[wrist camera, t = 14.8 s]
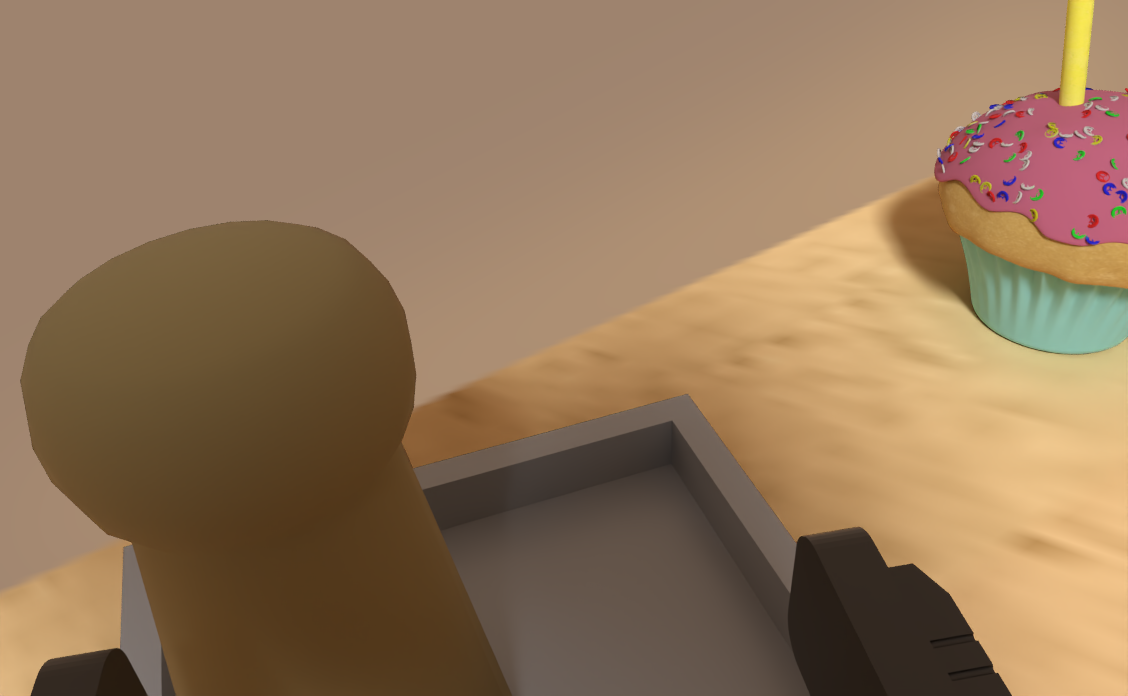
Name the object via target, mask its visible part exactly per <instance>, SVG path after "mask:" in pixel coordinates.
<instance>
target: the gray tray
mask: <svg viewBox="0 0 1128 696" xmlns="http://www.w3.org/2000/svg"><path fill="white" fill-rule="evenodd" d="M413 470H414V472H415V474H416V477H417V479H418V481H419V483H420V486H421V488H422V490H423V493H424V495H425V497H426V499H427V502H428V504H429V506H430V509H431V511H432V513H433V515H434V518H435V520H436V522H437V525H438V527H439V529H440V531H441V534H442V536H443V538H444V541H445V543H446V545H447V548H448V550H449V552H450V554H451V557H452V559H453V561H454V564H455V566H456V568H457V570H458V573H459V575H460V577H461V580H462V582H463V584H464V586H465V589H466V591H467V593H468V596H469V598H470V600H471V602H472V605H473V607H474V609H475V612H476V614H477V616H478V618H479V621H480V623H481V625H482V628H483V630H484V632H485V634H486V637H487V639H488V641H489V644H490V646H491V648H492V650H493V653H494V655H495V657H496V660H497V662H498V664H499V666H500V669H501V671H502V673H503V676H504V678H505V680H506V683H507V685H508V687H509V689H510V692H511V694H512V696H810V694H809V691H808V689H807V687H806V684H805V682H804V679H803V677H802V675H801V672H800V670H799V668H798V665H797V662H796V660H795V657H794V653H793V650H792V646H791V641H790V636H789V630H788V607H789V599H790V591H791V584H792V576H793V568H794V560H795V552H796V545H797V544H796V542H795V541H794V540H793V538H792V537H791V535H790V534H789V533H788V531H787V530H786V529H785V527H784V526H783V524H782V523H781V522H780V520H779V519H778V517H777V516H776V515H775V513H774V512H773V511H772V509H771V508H770V506H769V505H768V504H767V502H766V501H765V500H764V498H763V497H762V495H761V494H760V493H759V491H758V490H757V489H756V487H755V486H754V484H753V483H752V482H751V480H750V479H749V478H748V476H747V475H746V473H745V472H744V471H743V469H742V468H741V467H740V465H739V464H738V462H737V461H736V460H735V458H734V457H733V455H732V454H731V453H730V451H729V450H728V449H727V447H726V446H725V444H724V443H723V442H722V440H721V439H720V438H719V436H718V435H717V433H716V432H715V431H714V429H713V428H712V427H711V425H710V424H709V422H708V421H707V420H706V418H705V417H704V416H703V414H702V413H701V411H700V410H699V409H698V407H697V406H696V405H695V403H694V402H693V400H692V399H691V398H690V396H689V395H688V394H685V395H682V396H678V397H674V398H671V399H667V400H663V401H660V402H656V403H652V404H649V405H645V406H641V407H638V408H634V409H630V410H626V411H623V412H619V413H615V414H612V415H608V416H604V417H601V418H597V419H593V420H590V421H586V422H582V423H579V424H575V425H571V426H568V427H564V428H560V429H557V430H553V431H549V432H546V433H542V434H538V435H535V436H531V437H527V438H523V439H520V440H516V441H512V442H509V443H505V444H501V445H498V446H494V447H490V448H487V449H483V450H479V451H476V452H472V453H468V454H465V455H461V456H457V457H454V458H450V459H446V460H443V461H439V462H435V463H431V464H428V465H424V466H420V467H417V468H413ZM120 649H121V650H122V651H123V652H124V653H125V654H126V656H127V657H128V659H129V661H130V663H131V665H132V667H133V668H134V670H135V672H136V674H137V676H138V678H139V680H140V682H141V683H142V685H143V687H144V689H145V691H146V693H147V695H148V696H176V694H175V691H174V687H173V684H172V680H171V677H170V673H169V670H168V666H167V663H166V659H165V656H164V653H163V649H162V646H161V642H160V639H159V635H158V632H157V628H156V625H155V621H154V618H153V614H152V611H151V607H150V604H149V601H148V597H147V594H146V590H145V587H144V583H143V580H142V576H141V573H140V569H139V566H138V562H137V559H136V555H135V552H134V549H133V545H130V546H126V547H124V552H123V582H122V611H121V641H120Z"/></svg>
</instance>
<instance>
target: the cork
mask: <svg viewBox="0 0 1128 696" xmlns="http://www.w3.org/2000/svg"><path fill="white" fill-rule="evenodd" d="M20 381H21V387H22V392H23V398H24V403H25V409H26V414H27V420H28V425H29V431H30V436H31V441H32V447H33V450H34V452H35V453H36V455H37V457H38V459H39V460H40V462H41V464H42V466H43V468H44V469H45V471H46V473H47V475H48V477H49V478H50V480H51V482H52V483H53V484H54V485H55V486H56V487H57V488H58V489H59V490H60V491H61V492H62V493H64V494H65V495H66V496H67V497H68V498H69V499H70V500H71V501H72V502H73V503H74V504H75V505H76V506H77V507H78V508H79V509H81V511H83V512H84V513H85V514H86V515H87V516H88V517H89V518H90V519H91V520H92V521H93V522H94V523H95V524H97V525H98V526H99V527H100V528H101V529H102V530H103V531H104V532H105V533H106V534H108V535H111V536H114V537H117V538H120V539H123V540H127V541H130V542H132V545H133V549H134V552H135V555H136V559H137V562H138V566H139V569H140V573H141V576H142V580H143V583H144V587H145V590H146V594H147V597H148V601H149V604H150V607H151V611H152V614H153V618H154V621H155V625H156V628H157V632H158V635H159V639H160V642H161V646H162V649H163V653H164V656H165V659H166V663H167V666H168V670H169V673H170V677H171V680H172V684H173V687H174V691H175V694H176V696H512V694H511V692H510V689H509V687H508V685H507V683H506V680H505V678H504V676H503V673H502V671H501V669H500V666H499V664H498V662H497V660H496V657H495V655H494V653H493V650H492V648H491V646H490V644H489V641H488V639H487V637H486V634H485V632H484V630H483V628H482V625H481V623H480V621H479V618H478V616H477V614H476V612H475V609H474V607H473V605H472V602H471V600H470V598H469V596H468V593H467V591H466V589H465V586H464V584H463V582H462V580H461V577H460V575H459V573H458V570H457V568H456V566H455V564H454V561H453V559H452V557H451V554H450V552H449V550H448V548H447V545H446V543H445V541H444V538H443V536H442V534H441V531H440V529H439V527H438V525H437V522H436V520H435V518H434V515H433V513H432V511H431V509H430V506H429V504H428V502H427V499H426V497H425V495H424V493H423V490H422V488H421V486H420V483H419V481H418V479H417V477H416V474H415V472H414V470H413V467H412V465H411V463H410V461H409V458H408V456H407V454H406V451H405V449H404V447H403V445H402V442H401V441H402V438H403V436H404V433H405V430H406V427H407V425H408V422H409V419H410V416H411V414H412V411H413V408H414V394H415V382H416V371H415V363H414V358H413V351H412V344H411V340H410V335H409V330H408V325H407V320H406V315H405V311H404V309H403V307H402V305H401V303H400V301H399V300H398V298H397V296H396V294H395V292H394V290H393V289H392V287H391V285H390V283H389V281H388V280H387V279H386V278H385V277H384V276H383V275H382V274H381V273H380V271H379V270H378V269H377V268H376V267H375V266H374V265H373V264H372V263H371V262H370V261H369V260H368V259H367V258H366V257H365V256H364V255H363V254H362V253H360V252H359V251H358V250H357V249H356V248H355V247H354V246H353V245H351V244H350V243H349V242H348V241H347V240H346V239H344V238H341V237H338V236H336V235H334V234H331V233H329V232H327V231H324V230H322V229H319V228H316V227H310V226H304V225H298V224H291V223H283V222H274V221H268V220H265V221H243V222H242V221H241V222H227V223H221V224H216V225H211V226H205V227H199V228H193V229H189V230H185V231H182V232H179V233H176V234H173V235H169V236H166V237H163V238H160V239H156V240H153V241H150V242H147V243H145V244H143V245H141V246H139V247H136V248H134V249H132V250H130V251H128V252H125V253H123V254H121V255H119V256H117V257H114V258H112V259H111V260H109V261H107V262H106V263H104V264H103V265H101V266H100V267H98V268H97V269H95V270H94V271H92V272H91V273H89V274H87V275H86V276H84V277H83V278H81V279H80V280H79V281H78V282H77V283H76V284H75V285H73V286H72V287H71V288H70V289H69V290H68V291H67V292H66V293H65V294H64V295H63V296H62V297H61V298H60V299H59V300H58V301H57V302H56V303H55V304H54V305H53V306H52V307H51V308H50V309H49V310H48V311H47V312H46V313H45V314H44V315H43V316H42V317H41V318H40V320H39V323H38V325H37V327H36V329H35V331H34V334H33V336H32V338H31V340H30V343H29V345H28V349H27V354H26V358H25V363H24V367H23V372H22V376H21V380H20Z"/></svg>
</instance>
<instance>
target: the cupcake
mask: <svg viewBox="0 0 1128 696" xmlns="http://www.w3.org/2000/svg"><path fill="white" fill-rule="evenodd" d="M1093 10H1094V0H1068V6H1067V17H1066V27H1065V28H1066V29H1065V39H1064V50H1063V61H1062V72H1061V84H1060V88H1058V89H1056V90H1054V91H1044V92H1038V93H1034V94H1031V95H1028V96H1025V97H1019V98H1017V99H1015V100H1014V101H1013V100H1008V101H1006V103H1004V104H1002V105H997V104H995V105H991V106H990V107H989V108H990V109H991V110H989V111H988V112H986V113H985V114H983V115H980V113H978V112H974V113H973V114H972V120H973V122H972V123H970V124H969V125H967V126H966V127H962V126H960V127H957V128H956V129H955V131H954V132H953V133H952V134H951V136H950V138H949V139H948V142H947V146H946V147H945V148H944V149H943V151H942V152H941V150H940V148H938V150H937V156H938V158H937V161H936V164H935V171H934V173H935V177H936V179H937V180H938V181H939V186H938V191H939V195H940V197H941V203H942V207H943V210H944V213H945V216H946V219H947V222H948V224H949V226H950V228H951V229H952V230H953V231H954V232H955V233H957V234H958V235H960V238H961V242H962V246H963V250H964V254H965V258H966V263H967V269H968V275H969V283H970V291H971V301H972V305H973V308H974V310H975V312H976V314H977V315H978V317H979V318H980V319H981V320H982V321H983V322H984V323H985V324H986V325H987V326H988V327H989V328H990V329H992V330H993V331H995V332H996V333H998V334H999V335H1001V336H1003V337H1005V338H1007V339H1009V340H1011V341H1013V342H1016V343H1018V344H1021V345H1024V346H1027V347H1030V348H1033V349H1037V350H1042V351H1047V352H1053V353H1061V354H1086V353H1094V352H1099V351H1103V350H1106V349H1109V348H1112V347H1114V346H1116V345H1118V344H1119V343H1121V342H1122V341H1124V340H1125V339H1126V338H1127V337H1128V89H1127V88H1126V89H1125V90H1126V91H1127V93H1121V92H1113V91H1103V90H1093V89H1091V88H1086V78H1087V68H1088V58H1089V49H1090V38H1091V29H1092V19H1093ZM976 115H978V117H977V116H976ZM974 116H975V117H976V118H977V119H976V118H974ZM958 129H960V130H959V131H958ZM953 136H954V138H952V137H953Z"/></svg>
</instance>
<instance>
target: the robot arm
mask: <svg viewBox="0 0 1128 696" xmlns="http://www.w3.org/2000/svg"><path fill="white" fill-rule="evenodd" d="M788 630H789V636H790V641H791V646H792V650H793V653H794V657H795V660H796V662H797V665H798V668H799V670H800V672H801V675H802V677H803V679H804V682H805V684H806V687H807V689H808V691H809V694H810V696H1012V695H1011V693H1010V692H1009V690H1008V688H1007V687H1006V685H1005V684H1004V682H1003V680H1002V679H1001V677H1000V675H999V674H998V673H995V672H994V670H993V664H992V662H991V661H990V659H989V658H988V656H987V654H986V653H985V651H984V649H983V648H982V646H981V645H980V643H979V641H975V639H974V636H973V632H972V630H971V628H970V627H969V625H968V623H967V622H966V620H965V618H964V617H963V615H962V614H961V612H960V610H959V609H958V607H957V605H956V604H955V602H954V601H953V599H952V597H951V596H950V594H949V593H947V592H946V591H945V590H944V589H943V588H941V587H940V586H939V585H938V584H937V583H935V582H934V581H933V580H932V579H931V578H929V577H928V576H927V575H926V574H925V573H923V572H922V571H921V570H920V569H919V568H917V567H916V566H915V565H914V564H907V565H901V566H895V567H890V568H888V567H887V565H886V563H885V561H884V560H883V558H882V556H881V554H880V553H879V551H878V549H877V547H876V545H875V544H874V542H873V540H872V539H871V537H870V535H869V534H868V533H867V532H866V531H865V530H864V529H863V528H861V527H854V528H848V529H842V530H836V531H830V532H824V533H818V534H812V535H806V536H801V537H800V538H799V539H798V542H797V545H796V552H795V560H794V568H793V576H792V584H791V591H790V599H789V607H788ZM31 696H148V695H147V693H146V691H145V689H144V687H143V685H142V683H141V682H140V680H139V678H138V676H137V674H136V672H135V670H134V668H133V667H132V665H131V663H130V661H129V659H128V657H127V656H126V654H125V653H124V652H123V651H122V650H121V649H119V648H114V649H108V650H102V651H96V652H90V653H84V654H78V655H72V656H66V657H60V658H54V659H50V660H48V661H47V662H45V663H44V665H43V666H42V667H41V669H40V671H39V673H38V675H37V678H36V681H35V684H34V687H33V690H32V693H31Z"/></svg>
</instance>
